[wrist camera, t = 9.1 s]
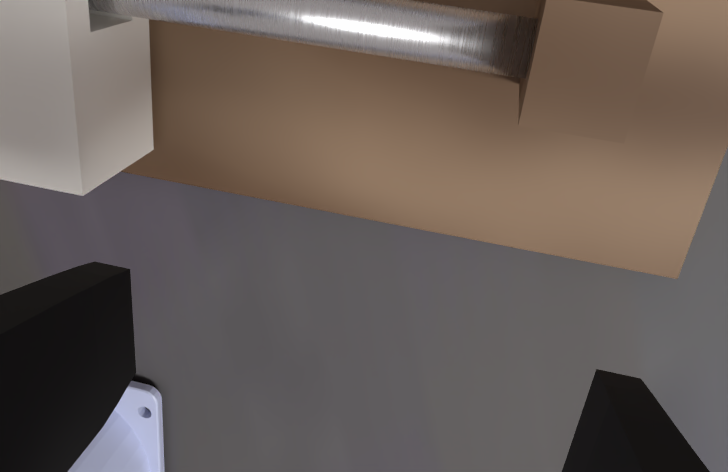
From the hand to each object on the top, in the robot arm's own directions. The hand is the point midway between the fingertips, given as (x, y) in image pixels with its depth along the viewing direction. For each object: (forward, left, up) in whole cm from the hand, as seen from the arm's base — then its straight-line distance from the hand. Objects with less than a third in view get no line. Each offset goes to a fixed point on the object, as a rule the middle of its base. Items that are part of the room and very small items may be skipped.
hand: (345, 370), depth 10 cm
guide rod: (+4, +7, -7) cm, 10 cm away
